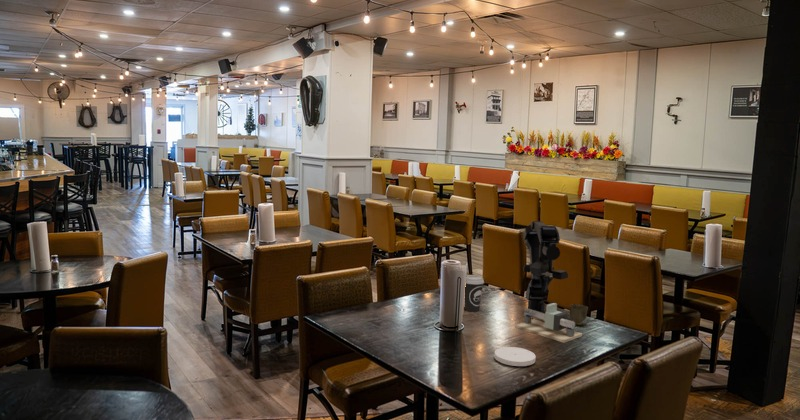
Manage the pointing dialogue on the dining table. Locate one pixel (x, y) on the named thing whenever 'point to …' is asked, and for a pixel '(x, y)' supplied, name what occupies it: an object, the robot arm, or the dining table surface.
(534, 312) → the steel pipe
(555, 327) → the rubber collar
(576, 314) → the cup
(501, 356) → the plastic lid
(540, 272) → the robot arm
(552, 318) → the sleeve
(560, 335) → the base board
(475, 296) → the coffee cup
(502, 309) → the dining table surface
